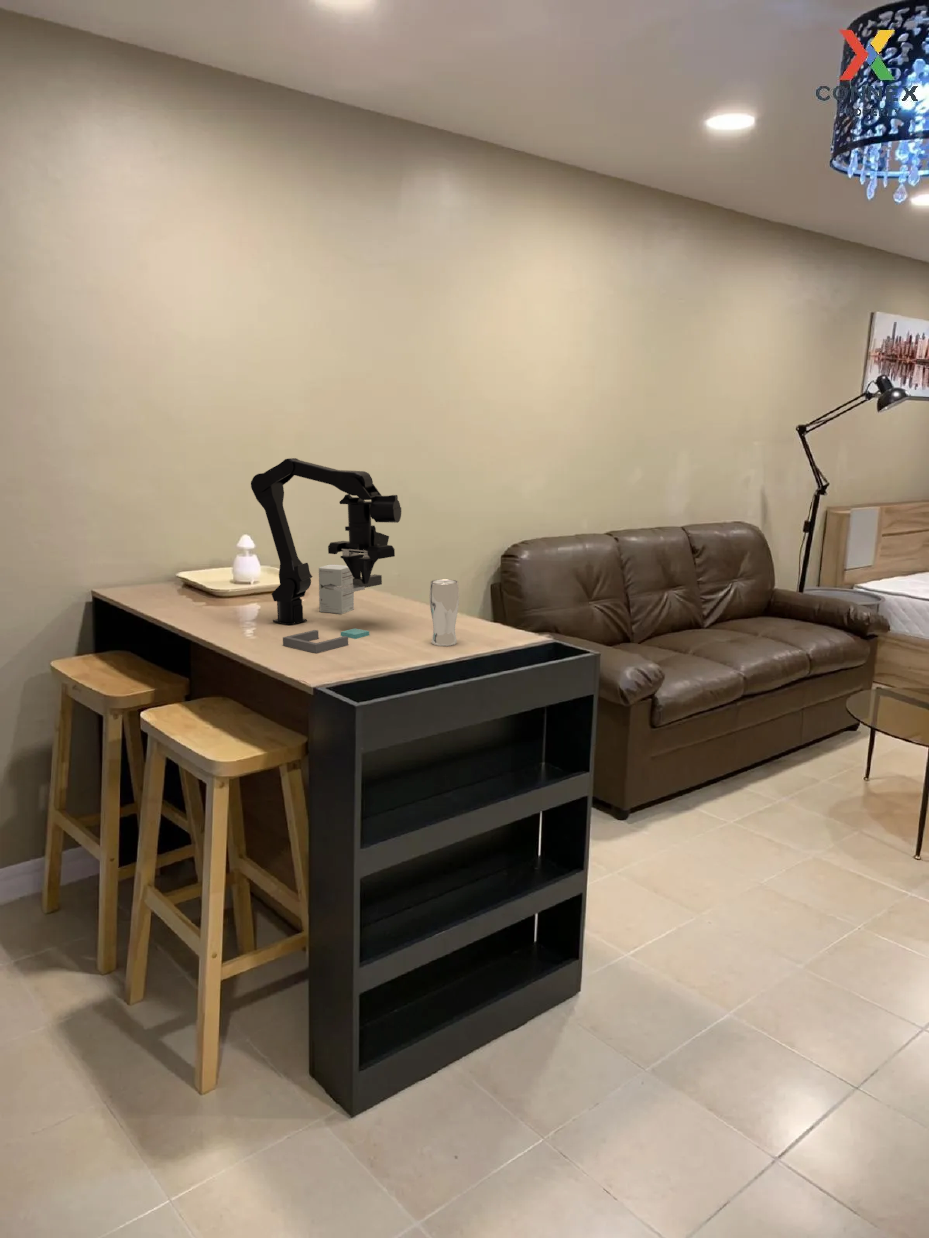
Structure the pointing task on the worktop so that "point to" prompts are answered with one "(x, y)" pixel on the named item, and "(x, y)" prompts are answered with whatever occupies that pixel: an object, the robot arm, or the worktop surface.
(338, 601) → the supplement box
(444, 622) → the beer glass
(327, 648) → the corral
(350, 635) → the tile
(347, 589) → the turner
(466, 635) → the worktop surface
